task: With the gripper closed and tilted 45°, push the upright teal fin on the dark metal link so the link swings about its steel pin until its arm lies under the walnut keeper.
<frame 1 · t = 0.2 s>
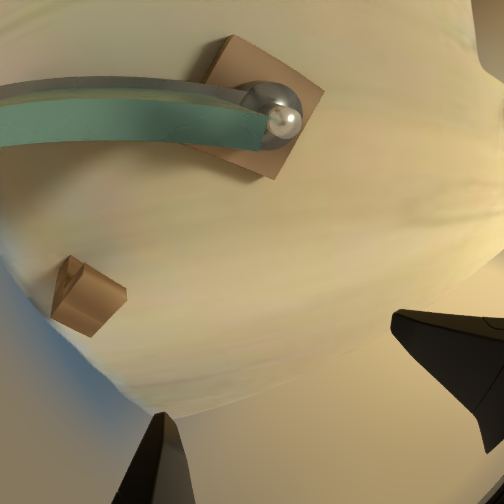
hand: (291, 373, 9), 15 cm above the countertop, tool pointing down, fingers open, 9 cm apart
keeper: (81, 274, 20), on the countertop
pintle block: (249, 108, 18), on the countertop
link: (153, 104, 10), point 6 cm above the countertop, hinge at -75.0°
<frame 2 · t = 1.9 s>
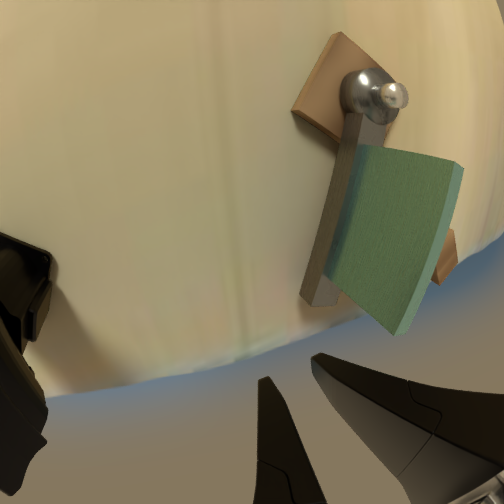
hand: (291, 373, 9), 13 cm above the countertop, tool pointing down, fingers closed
keeper: (414, 249, 28), on the countertop
pintle block: (350, 97, 19), on the countertop
link: (386, 198, 16), point 6 cm above the countertop, hinge at -75.0°
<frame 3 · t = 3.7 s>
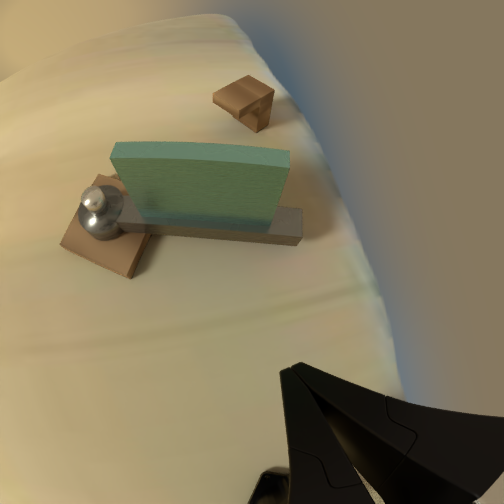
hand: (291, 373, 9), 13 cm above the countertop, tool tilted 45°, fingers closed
keeper: (250, 120, 30), on the countertop
pintle block: (113, 224, 24), on the countertop
link: (175, 193, 19), point 6 cm above the countertop, hinge at -75.0°
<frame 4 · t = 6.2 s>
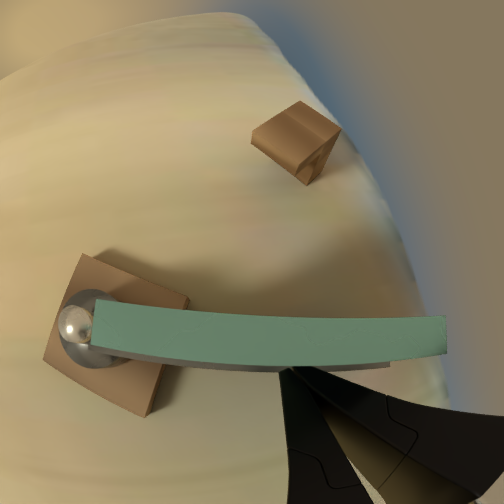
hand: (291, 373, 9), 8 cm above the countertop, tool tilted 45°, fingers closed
keeper: (296, 165, 22), on the countertop
pintle block: (113, 334, 16), on the countertop
link: (219, 344, 11), point 6 cm above the countertop, hinge at -74.8°, touching gripper
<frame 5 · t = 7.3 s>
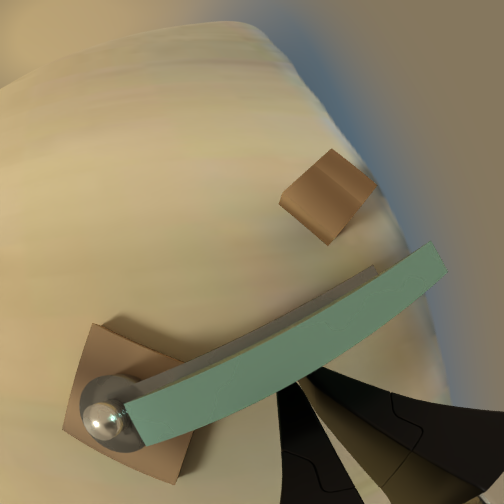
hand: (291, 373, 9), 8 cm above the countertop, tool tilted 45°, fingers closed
keeper: (321, 215, 20), on the countertop
pintle block: (134, 405, 15), on the countertop
link: (241, 367, 11), point 6 cm above the countertop, hinge at -45.2°, touching gripper
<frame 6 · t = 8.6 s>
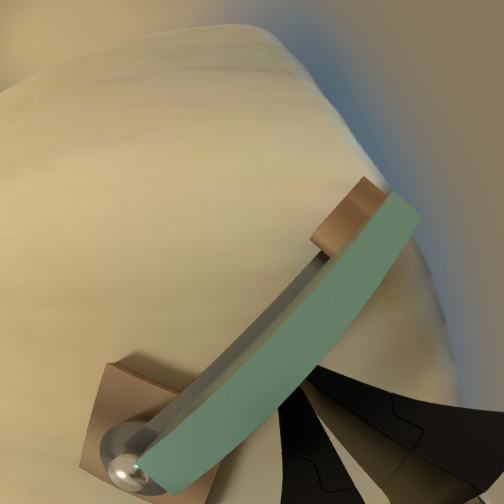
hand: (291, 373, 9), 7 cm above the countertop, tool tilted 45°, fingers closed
keeper: (346, 242, 19), on the countertop
pintle block: (154, 443, 13), on the countertop
link: (240, 378, 10), point 6 cm above the countertop, hinge at -25.9°, touching gripper
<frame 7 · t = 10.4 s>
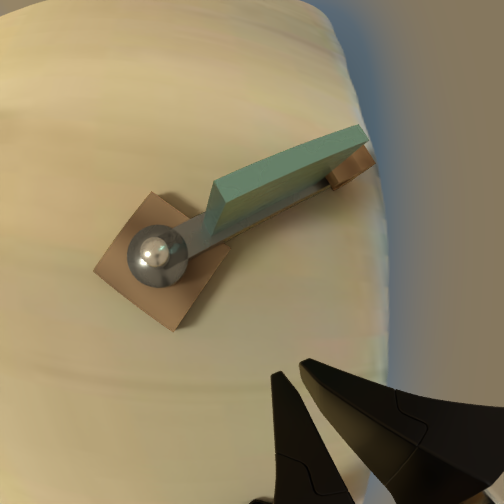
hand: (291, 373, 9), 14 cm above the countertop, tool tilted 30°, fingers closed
keeper: (331, 171, 27), on the countertop
pintle block: (161, 261, 22), on the countertop
link: (253, 197, 18), point 6 cm above the countertop, hinge at -25.9°
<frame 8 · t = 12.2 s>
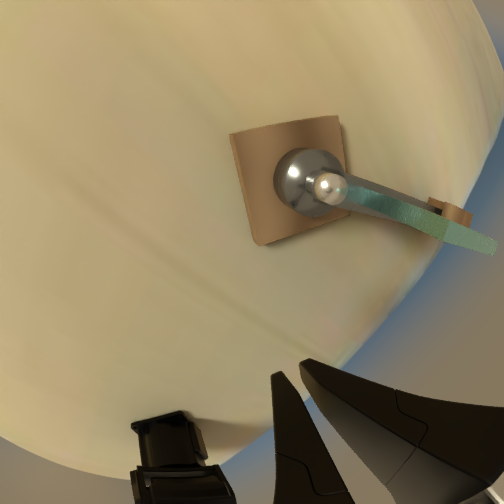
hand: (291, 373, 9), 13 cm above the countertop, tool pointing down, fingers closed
keeper: (429, 214, 27), on the countertop
pintle block: (292, 175, 20), on the countertop
link: (415, 214, 18), point 6 cm above the countertop, hinge at -25.9°
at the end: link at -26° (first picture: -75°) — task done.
